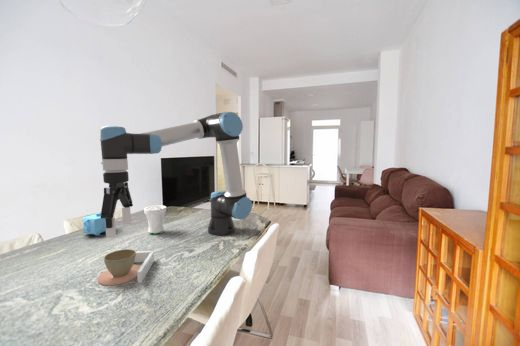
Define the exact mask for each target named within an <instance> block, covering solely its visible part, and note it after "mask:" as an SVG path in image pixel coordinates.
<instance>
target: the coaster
mask: <svg viewBox="0 0 520 346" xmlns="http://www.w3.org/2000/svg"><path fill="white" fill-rule="evenodd" d="M141 266H142V265H139V264H136V263H134V264H133V266H132V268H131V270H130V272H129V273H128V274H126V275H124V276H121V277H114V276H113V275H112V274H111V273H110V272H109V271H108V269H106V270H104V271H103V272H102V273H100V274H99V275H98V277H97V283H98V284H99V285H102V286H115V285H116V286H117V285H121V284H122V285H123V284H126V283H128V282H131V281H132V280H135V279H137V271H138V270H139V268H140V267H141Z"/></svg>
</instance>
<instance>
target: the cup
mask: <svg viewBox="0 0 520 346" xmlns="http://www.w3.org/2000/svg"><path fill="white" fill-rule="evenodd" d="M166 212H167V206H166V205H160V204H159V205H158V204H157V205H150V206H145V207H144V209H143V213H144V215H145V217H146V219H147V222H148V230H147V231H148V234H149V235H152V234H154V235H155V236H156V235H158V233H159V234H162V233H163V232H164V219H165V216H166V215H165V214H166Z"/></svg>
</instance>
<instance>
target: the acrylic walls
mask: <svg viewBox="0 0 520 346" xmlns="http://www.w3.org/2000/svg"><path fill="white" fill-rule="evenodd" d="M137 263H142V264H141V265H140V266H141V267H140V268H139V270H138V271H137V277H136V279H137V284H141V283H142V282H143V281H144V279H145V278H146V276H147V275H148V272H149V271H150V269H151V267H152V265H153V264H154V263H155V253H154V251H152V250H145V251H143V250H142V251H136V256H135V261H134V264H137Z"/></svg>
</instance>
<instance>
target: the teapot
mask: <svg viewBox="0 0 520 346" xmlns="http://www.w3.org/2000/svg"><path fill="white" fill-rule="evenodd" d="M113 217H115V216H113ZM82 232H83V233H84V234H87V235H94V236H95V237H98V236H101V233H102V234H103V233H105V234H106V227H105V218H103V219H101V212H95V213H94V214H90V213H86V216H84V217H82Z"/></svg>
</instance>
